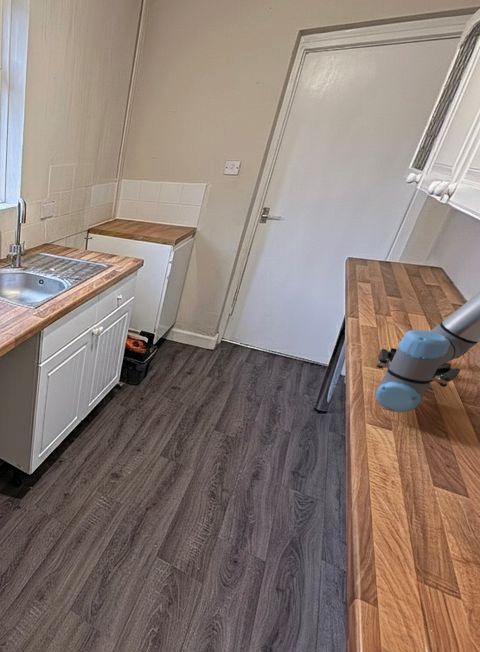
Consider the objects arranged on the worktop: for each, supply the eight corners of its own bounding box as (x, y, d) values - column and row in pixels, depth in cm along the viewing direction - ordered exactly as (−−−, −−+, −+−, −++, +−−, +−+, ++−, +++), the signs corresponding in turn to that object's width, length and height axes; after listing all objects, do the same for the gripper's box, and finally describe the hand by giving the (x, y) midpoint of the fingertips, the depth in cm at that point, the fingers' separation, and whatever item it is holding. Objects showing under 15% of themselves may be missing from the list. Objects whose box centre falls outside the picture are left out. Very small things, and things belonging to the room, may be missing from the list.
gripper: (350, 375, 117) (369, 353, 129) (460, 410, 101) (469, 380, 114) (360, 352, 114) (378, 331, 126) (475, 384, 98) (483, 356, 111)
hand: (421, 354), depth 120 cm, fingers closed on cupcake, 8 cm apart
